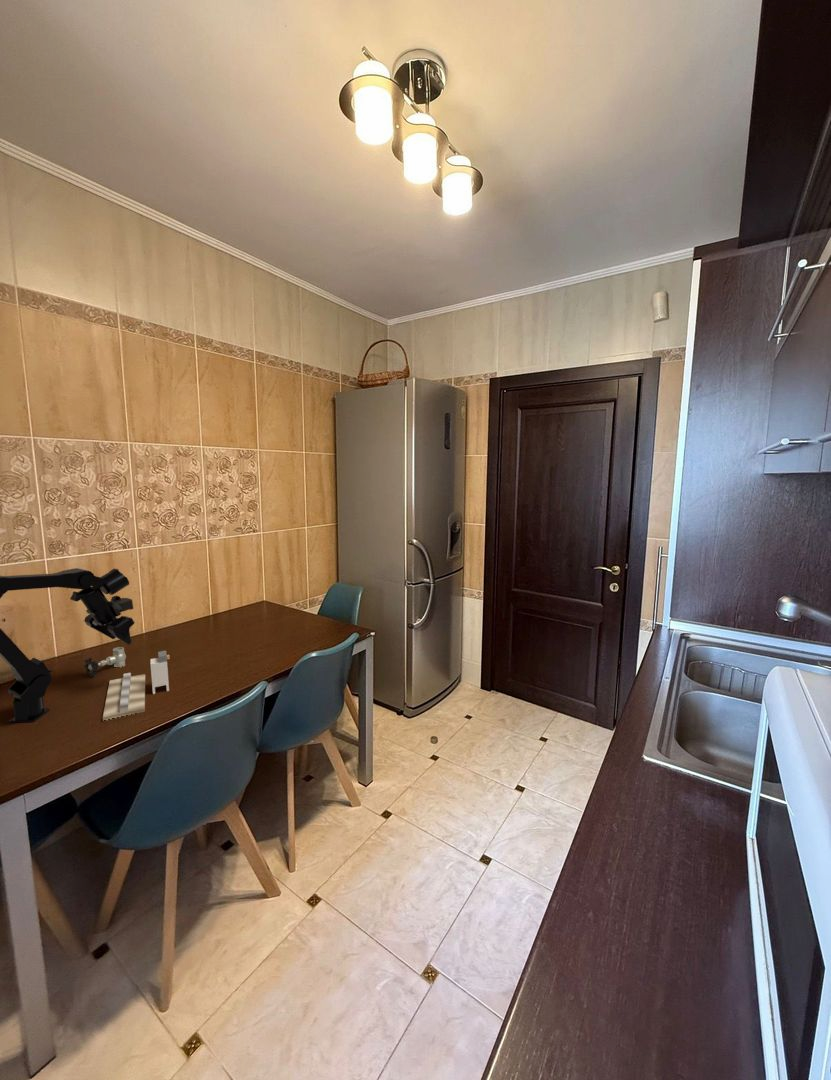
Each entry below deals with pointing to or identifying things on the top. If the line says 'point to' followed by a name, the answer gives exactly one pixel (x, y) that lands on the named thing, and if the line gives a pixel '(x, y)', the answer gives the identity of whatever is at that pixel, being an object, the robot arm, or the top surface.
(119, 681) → the din board
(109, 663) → the valve
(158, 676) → the breaker module
